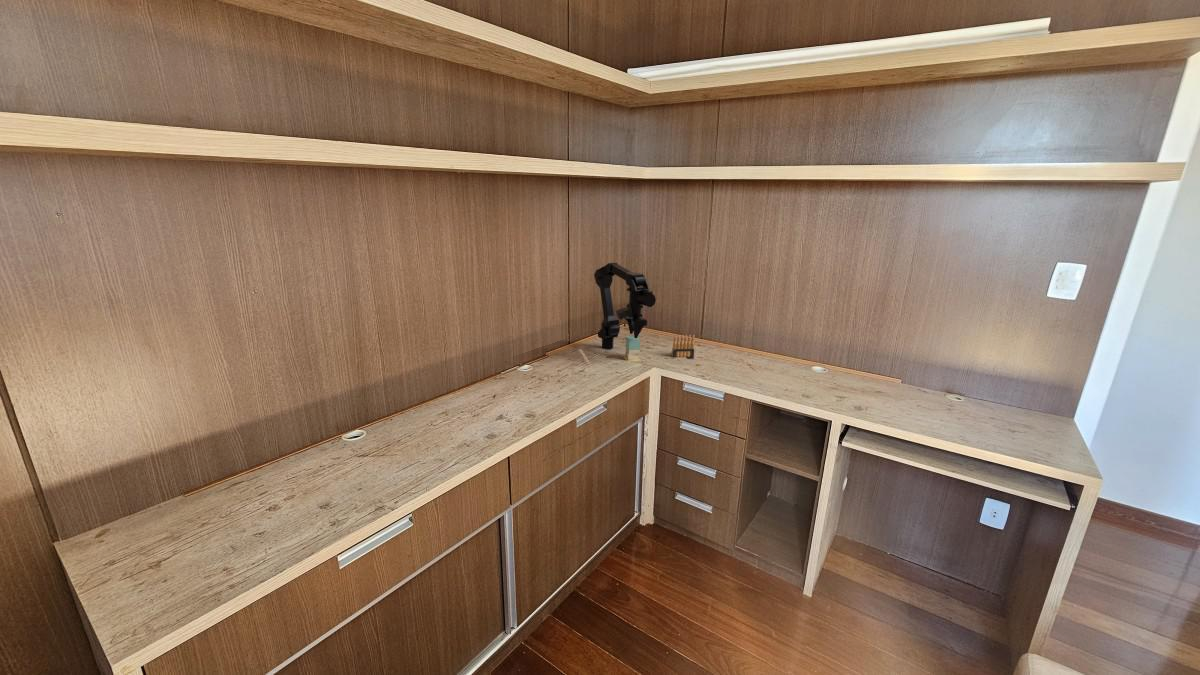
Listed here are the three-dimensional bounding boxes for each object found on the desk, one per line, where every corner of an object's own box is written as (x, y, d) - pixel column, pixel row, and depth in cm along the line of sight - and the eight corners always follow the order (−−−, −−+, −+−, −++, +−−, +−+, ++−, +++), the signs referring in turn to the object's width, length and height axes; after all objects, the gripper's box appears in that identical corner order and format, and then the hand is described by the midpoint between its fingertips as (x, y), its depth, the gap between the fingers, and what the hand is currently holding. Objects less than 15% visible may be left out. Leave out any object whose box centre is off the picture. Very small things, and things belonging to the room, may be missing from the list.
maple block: (625, 357, 231) (625, 346, 230) (635, 356, 232) (636, 346, 231) (628, 360, 227) (629, 350, 225) (638, 360, 228) (639, 349, 226)
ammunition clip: (672, 359, 234) (674, 335, 230) (670, 358, 236) (673, 333, 232) (693, 358, 236) (696, 334, 232) (692, 357, 238) (694, 333, 234)
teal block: (625, 346, 230) (626, 336, 228) (636, 346, 231) (636, 336, 229) (628, 350, 225) (629, 339, 224) (639, 349, 226) (640, 339, 225)
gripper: (612, 298, 228) (610, 330, 233) (623, 307, 211) (622, 342, 216) (635, 297, 231) (633, 330, 236) (648, 307, 214) (646, 341, 218)
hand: (633, 335), depth 226 cm, fingers open, 6 cm apart
